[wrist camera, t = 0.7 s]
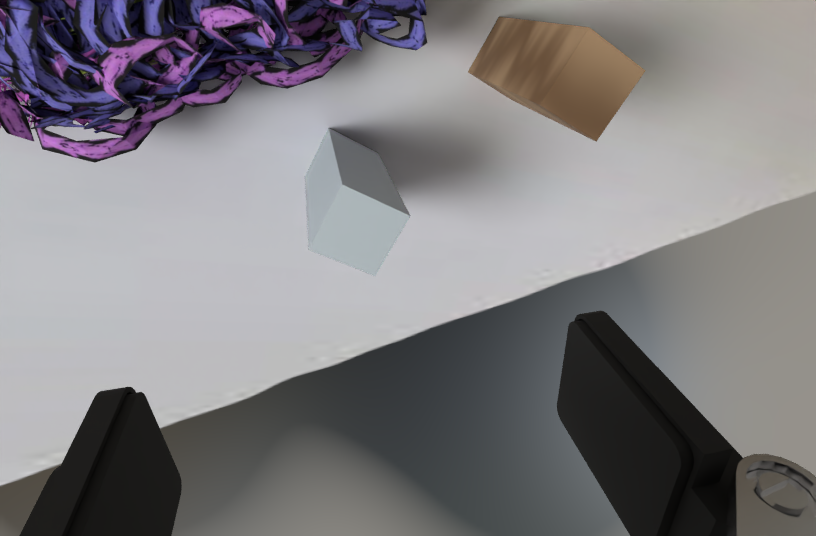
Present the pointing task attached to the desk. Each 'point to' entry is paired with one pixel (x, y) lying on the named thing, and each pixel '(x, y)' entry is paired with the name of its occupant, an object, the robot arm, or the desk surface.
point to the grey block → (352, 204)
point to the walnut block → (557, 72)
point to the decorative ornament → (165, 58)
